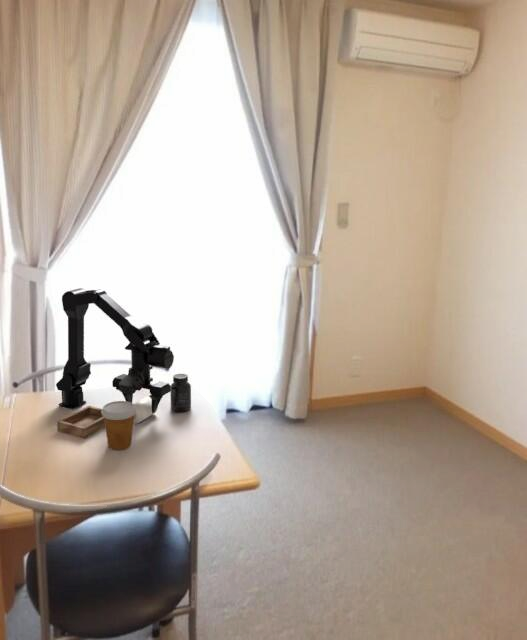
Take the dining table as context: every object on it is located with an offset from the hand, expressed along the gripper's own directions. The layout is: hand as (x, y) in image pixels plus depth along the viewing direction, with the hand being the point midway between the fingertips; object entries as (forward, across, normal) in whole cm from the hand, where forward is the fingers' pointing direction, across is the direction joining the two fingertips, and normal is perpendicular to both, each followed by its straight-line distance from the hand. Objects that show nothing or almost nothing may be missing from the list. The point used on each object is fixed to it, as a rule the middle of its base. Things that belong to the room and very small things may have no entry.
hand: (141, 410), depth 179 cm
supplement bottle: (+3, +7, +12) cm, 14 cm away
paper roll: (0, 0, 0) cm, 0 cm away
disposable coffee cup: (+3, +6, -18) cm, 20 cm away
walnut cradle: (+3, -11, -13) cm, 17 cm away
